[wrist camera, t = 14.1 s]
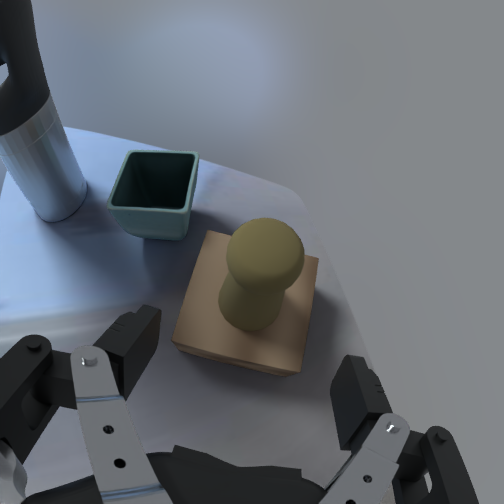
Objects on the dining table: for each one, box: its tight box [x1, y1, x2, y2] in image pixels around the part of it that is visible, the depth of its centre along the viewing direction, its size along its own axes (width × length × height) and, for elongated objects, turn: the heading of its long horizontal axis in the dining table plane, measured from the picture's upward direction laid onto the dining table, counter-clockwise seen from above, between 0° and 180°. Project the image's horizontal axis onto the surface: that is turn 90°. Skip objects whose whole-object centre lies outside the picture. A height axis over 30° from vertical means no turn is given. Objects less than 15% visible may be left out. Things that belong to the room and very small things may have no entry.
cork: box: [218, 218, 305, 331], centre depth 23 cm, size 6×6×11 cm
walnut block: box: [171, 230, 319, 377], centre depth 31 cm, size 12×12×6 cm
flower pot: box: [107, 150, 199, 241], centre depth 34 cm, size 9×9×9 cm
